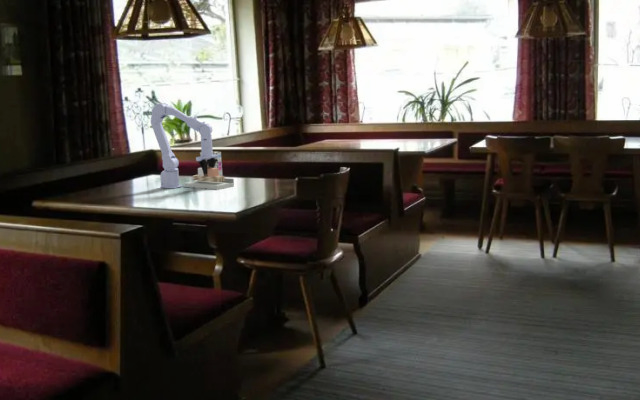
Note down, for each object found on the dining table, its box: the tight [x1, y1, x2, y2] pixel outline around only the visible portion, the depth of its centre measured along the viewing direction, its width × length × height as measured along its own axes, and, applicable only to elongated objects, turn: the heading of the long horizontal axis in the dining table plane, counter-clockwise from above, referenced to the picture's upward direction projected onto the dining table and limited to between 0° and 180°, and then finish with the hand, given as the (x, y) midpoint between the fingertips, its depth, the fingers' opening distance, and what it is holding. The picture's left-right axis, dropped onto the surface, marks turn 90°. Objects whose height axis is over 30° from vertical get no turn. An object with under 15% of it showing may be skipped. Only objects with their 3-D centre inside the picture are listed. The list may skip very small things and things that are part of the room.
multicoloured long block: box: [192, 167, 226, 182], centre depth 361 cm, size 18×5×7 cm, turn 55°
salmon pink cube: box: [208, 168, 219, 177], centre depth 359 cm, size 4×4×4 cm
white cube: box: [197, 167, 204, 176], centre depth 363 cm, size 4×4×4 cm
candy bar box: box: [199, 151, 224, 176], centre depth 381 cm, size 11×5×16 cm, turn 68°
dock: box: [184, 177, 235, 190], centre depth 362 cm, size 24×12×4 cm, turn 55°
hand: (208, 173), depth 361 cm, fingers closed on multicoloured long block, 4 cm apart
